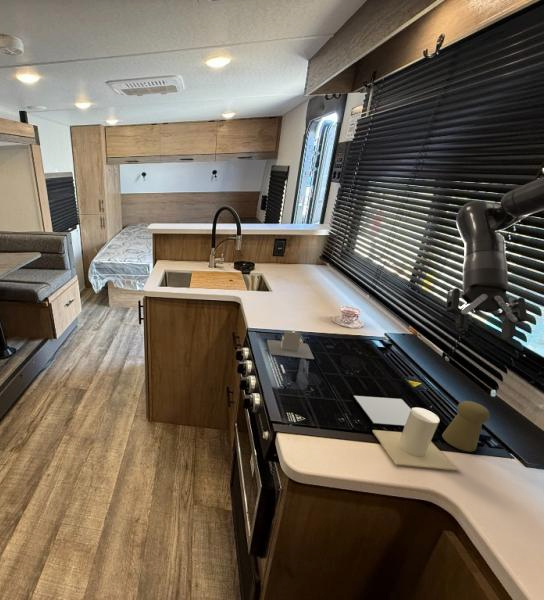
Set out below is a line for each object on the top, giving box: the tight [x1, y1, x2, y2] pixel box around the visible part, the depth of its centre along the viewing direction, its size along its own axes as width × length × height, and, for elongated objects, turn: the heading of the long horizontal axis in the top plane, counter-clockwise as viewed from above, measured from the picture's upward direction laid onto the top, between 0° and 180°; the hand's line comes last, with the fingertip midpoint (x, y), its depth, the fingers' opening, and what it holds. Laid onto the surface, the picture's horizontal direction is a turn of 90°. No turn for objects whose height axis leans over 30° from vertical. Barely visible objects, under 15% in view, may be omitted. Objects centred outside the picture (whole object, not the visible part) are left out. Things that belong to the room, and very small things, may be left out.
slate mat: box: [352, 395, 412, 428], centre depth 85 cm, size 13×11×1 cm
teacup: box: [331, 305, 365, 329], centre depth 135 cm, size 12×12×6 cm
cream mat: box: [372, 429, 457, 471], centre depth 73 cm, size 12×10×1 cm
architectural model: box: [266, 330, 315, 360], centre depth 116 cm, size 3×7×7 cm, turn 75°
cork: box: [441, 400, 491, 453], centre depth 73 cm, size 6×6×11 cm
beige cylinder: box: [398, 407, 441, 457], centre depth 71 cm, size 5×5×10 cm
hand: (485, 334), depth 73 cm, fingers open, 8 cm apart
